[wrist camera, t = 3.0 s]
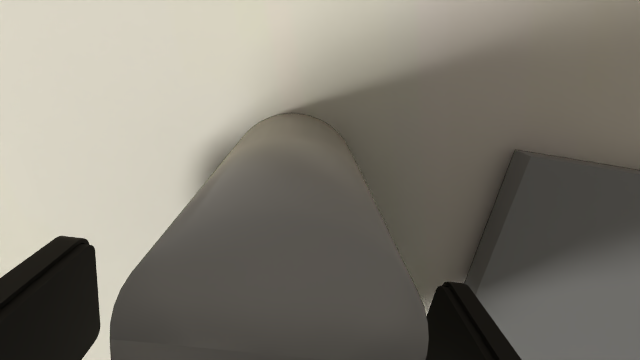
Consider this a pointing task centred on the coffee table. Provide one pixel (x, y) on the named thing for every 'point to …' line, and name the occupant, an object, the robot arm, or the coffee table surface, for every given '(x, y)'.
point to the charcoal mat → (563, 259)
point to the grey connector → (274, 263)
